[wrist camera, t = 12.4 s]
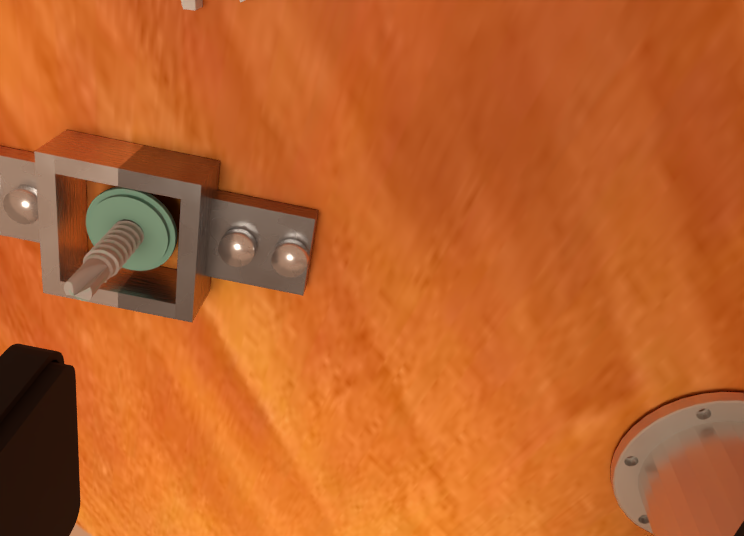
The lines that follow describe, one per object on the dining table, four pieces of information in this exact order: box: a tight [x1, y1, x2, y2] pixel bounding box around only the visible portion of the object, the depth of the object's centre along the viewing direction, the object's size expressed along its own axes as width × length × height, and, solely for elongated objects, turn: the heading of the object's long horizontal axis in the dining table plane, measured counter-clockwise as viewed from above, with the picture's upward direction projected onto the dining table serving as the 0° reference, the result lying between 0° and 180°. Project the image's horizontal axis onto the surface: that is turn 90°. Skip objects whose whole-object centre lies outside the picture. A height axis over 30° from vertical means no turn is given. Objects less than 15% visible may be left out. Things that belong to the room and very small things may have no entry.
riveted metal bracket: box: [0, 130, 318, 322], centre depth 38 cm, size 20×8×4 cm, turn 80°
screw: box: [64, 187, 177, 301], centre depth 36 cm, size 9×5×5 cm
